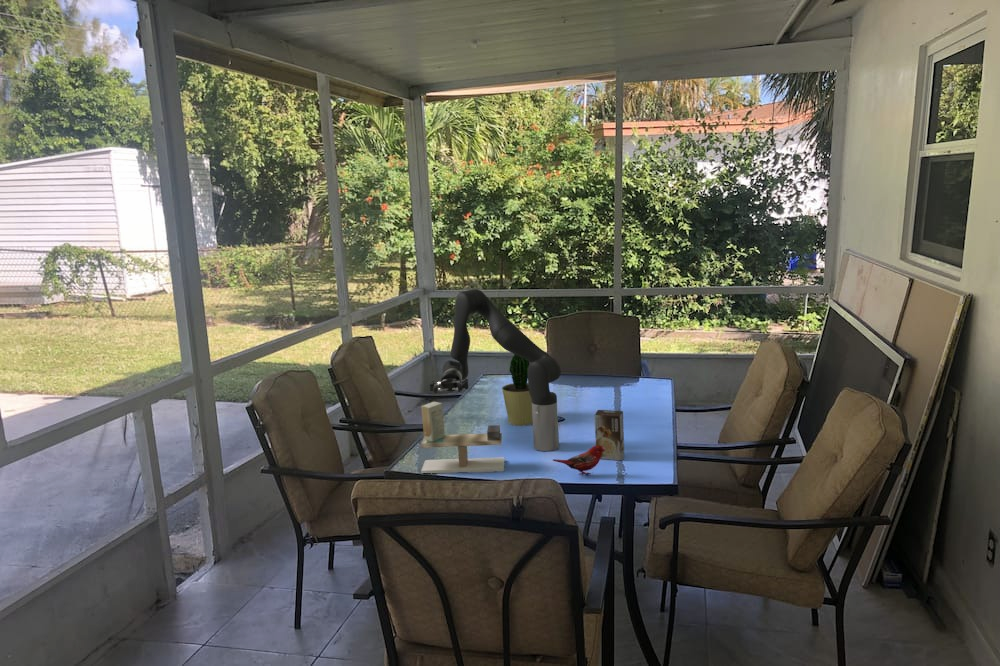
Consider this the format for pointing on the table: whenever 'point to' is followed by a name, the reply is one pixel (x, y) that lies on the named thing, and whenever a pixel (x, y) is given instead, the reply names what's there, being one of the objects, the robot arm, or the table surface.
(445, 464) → the beam stand
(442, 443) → the balance beam
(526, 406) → the potted cactus
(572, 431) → the table surface
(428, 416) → the skincare box
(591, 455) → the decorative bird figurine
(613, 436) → the coffee box
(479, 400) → the table surface
